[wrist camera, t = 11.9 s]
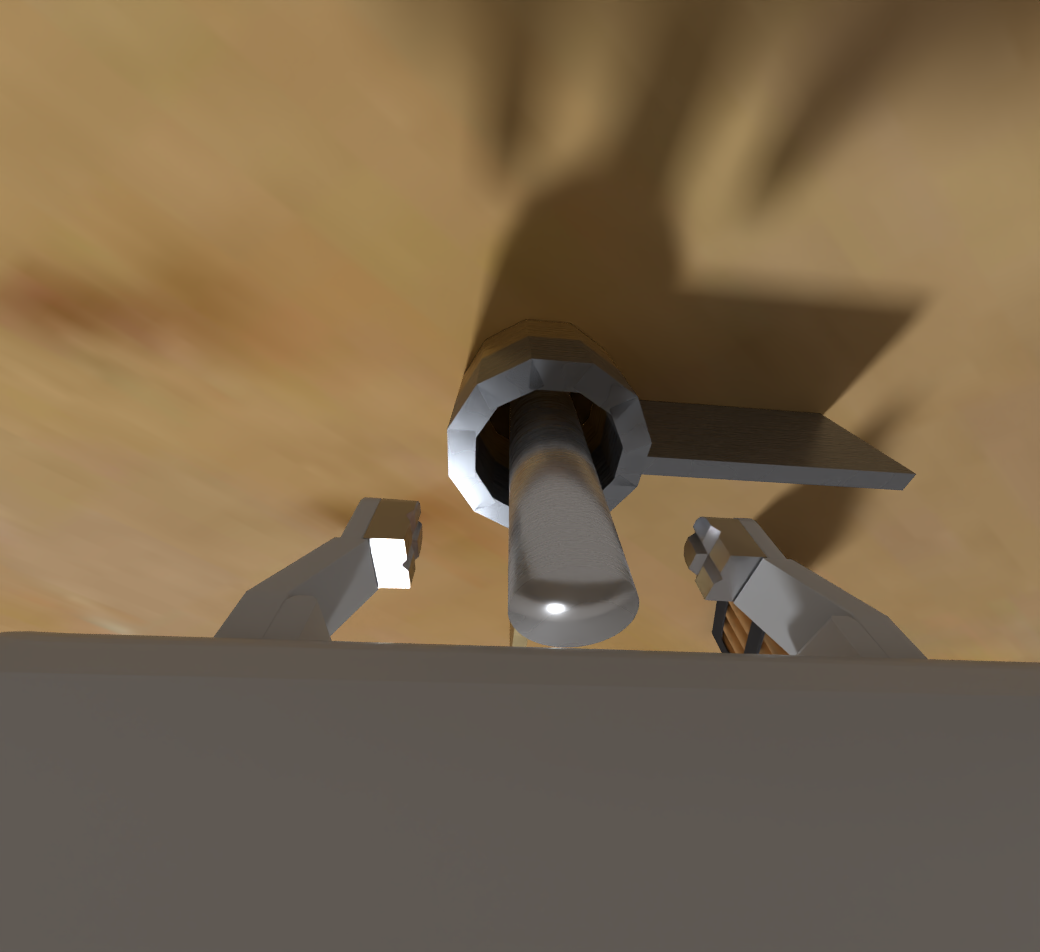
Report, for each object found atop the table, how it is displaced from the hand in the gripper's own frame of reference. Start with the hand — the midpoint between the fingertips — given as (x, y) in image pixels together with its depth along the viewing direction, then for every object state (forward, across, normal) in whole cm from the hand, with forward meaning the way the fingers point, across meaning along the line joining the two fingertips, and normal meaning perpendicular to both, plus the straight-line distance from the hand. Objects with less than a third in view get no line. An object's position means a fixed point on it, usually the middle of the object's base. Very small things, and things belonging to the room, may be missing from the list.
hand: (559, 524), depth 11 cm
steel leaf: (+9, -5, 0) cm, 11 cm away
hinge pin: (+9, 0, 0) cm, 9 cm away
